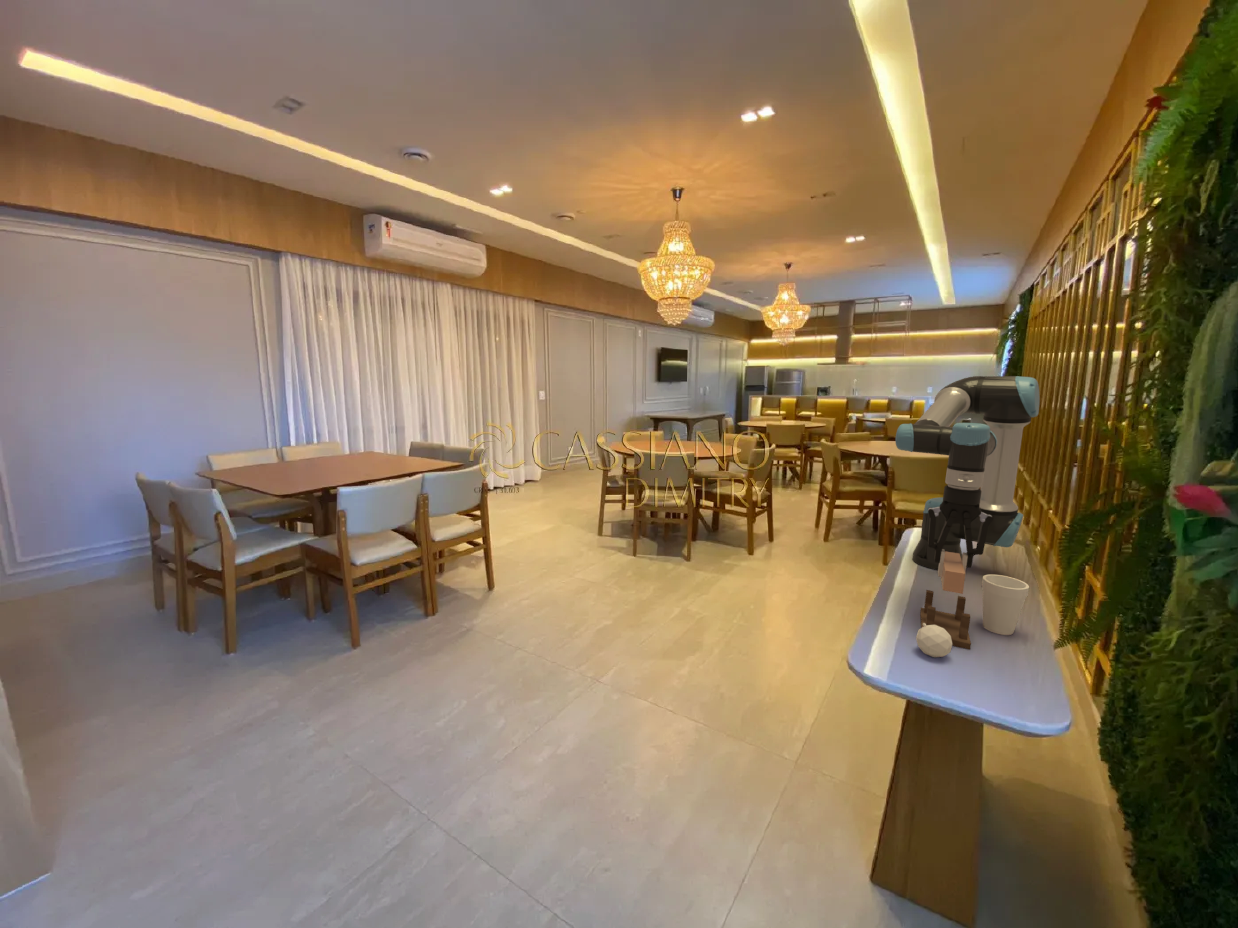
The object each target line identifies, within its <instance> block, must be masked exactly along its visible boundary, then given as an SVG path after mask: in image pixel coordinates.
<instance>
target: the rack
mask: <svg viewBox="0 0 1238 928" xmlns="http://www.w3.org/2000/svg"><path fill="white" fill-rule="evenodd" d="M925 591H926V592H925V598H924V607H920V612H919V613H920V614H919V615H920V629H921V628H922V627H924V626H923V623H925V624H926V625H937V626H939V627H942V628H944V629H945V630H946V631H947V632H948V633H949V634H950V636H951V639H952V647H957V648H961V649H965V650H969V651H970V650H971V647H972V642H971V638H970V634H969V629H970V624H971V614H970V613H965V609H966V600H967V598H966V596H962V595H961V596H960V595H958V596H957V599H956V606H955V613H949V612H944V611H940V610H936V607H935V606H933V602H934V593H935V591H934V590H928V589H926V590H925Z"/></svg>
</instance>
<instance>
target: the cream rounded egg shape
mask: <svg viewBox="0 0 1238 928" xmlns="http://www.w3.org/2000/svg"><path fill="white" fill-rule="evenodd" d="M923 626H924V627H922V628H921V627H920V628H919V629H918V631H917V634H916V637H915V639H916V643H917V647H919V649H920V650H921V652H923V654H924V655H928V656H930V657H932V658H940V657H941V658H942V657H945V656H947V655H948V654H950V653H951V651H952V647H953V646H952V639H951V636H950V634H949V633H948V632H947V631H946V630H945V629H944V628H942V627H939V626H937V625H926V624H925V623H923Z"/></svg>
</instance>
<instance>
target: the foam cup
mask: <svg viewBox="0 0 1238 928" xmlns="http://www.w3.org/2000/svg"><path fill="white" fill-rule="evenodd" d="M981 588H982V627H983V628H984V629H985V630H987V631H989V632H991V633H994V634H996V635H1000V636H1001V635H1002V636H1010V635H1011V636H1012V635H1013V634H1014V632H1015V629H1016V627H1017V624H1018V622H1019V619H1020V615H1021V613H1022V610H1023V607H1024V604H1025V601H1026V599H1027V597H1028V595H1029V589H1030V586H1029V584H1028V583H1026V582H1025V581H1023V580H1020V579H1018V578H1016V577H1015V578H1014V577H1010V576H1007V575H1001V574H985V575H983V576H982V581H981Z"/></svg>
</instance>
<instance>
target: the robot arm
mask: <svg viewBox="0 0 1238 928" xmlns="http://www.w3.org/2000/svg"><path fill="white" fill-rule="evenodd" d="M1039 412H1040V387H1039V382H1038V380H1037V379H1036V378H1034V377H1033V376H1032V377H1031V376H1018V375H1017V376H1016V375H1007V376H1006V375H1004V376H1002V375H1001V376H1000V375H999V376H997V375H996V376H993V375H992V376H991V375H990V376H987V375H985V376H983V375H976V376H975V375H974V376H968V377H964V378H961V379H958V380H956V381H953V382H952V383H949V384H947V385H946V386H944V387H943V388H941V389H940V391H938V392H937V394H936V395H935V396H934V400H933V402H932V404H931V405H930V406H929V407H928V408H927V410H926V411H925V412H924V413H923V414H922V415H921V417H920V418H919V419H918V420H917V421H916V422H915V423H911V422H910V423H902V424H900V425H899V426H898V427H897V429H896V433H895V447H896V448H897V449H898V450H900V451H905V452H910V453H918V454H919V453H921V454H932V455H941V456H948V458H947V459H948V461H947V467H946V475H945V481H944V482H945V484H946V485H945V486H944V488H943V496H942V497H933V498H930V499H928V500H927V501H925V505H924V509H923V511H922V513H923V516H922V525H921V533H920V539H919V541H918V542H917V545H916V546H915V548H914V551H913V552H912V561H913V562H914V563H916V564H918V565H919V566H922V567H925V568H928V569H932V570H937V576H938V577H939V578H941V577H942V570H943V563H944V556H945V551H946V552H953V553H959V554H960V557H961V560H962V564H963V567H964V571H965V573H966V570H967V568H969V569H971V568H972V565H973V561H974V556H976V555H979V556H981V555H983V554H984V550H985V546H986V545H990V546H992V547H999V548H1000V547H1001V548H1010V547H1012V546H1013V545H1014V543H1015V541H1016V539H1017V536H1018V533H1019V532H1020V531H1019V530H1020V528H1021V525H1022V522H1023V519H1024V514H1023V513H1021V512H1018V511H1019V506H1018V505H1017V504H1016V503H1015V502H1014V497H1015V489H1016V483H1017V475H1018V467H1019V461H1020V453H1021V447H1022V438H1023V432H1024V427H1027V425H1029V424H1030V423H1032V422H1031V421H1032V418H1035V417H1038V415H1039ZM963 414H976V415H977V414H978V415H980V414H981V415H983V417H982V421H983V422H984V423H979V422H956V423H955V424H954V425H953V423H954V422H955V420H956V419H957V418H958V417H959V416H962V415H963ZM951 425H953V426H951ZM961 540H965V546H966V551H965V552H964V551H963V552H962V547H961ZM973 542H975V543H976V548H974V545H973Z"/></svg>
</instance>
